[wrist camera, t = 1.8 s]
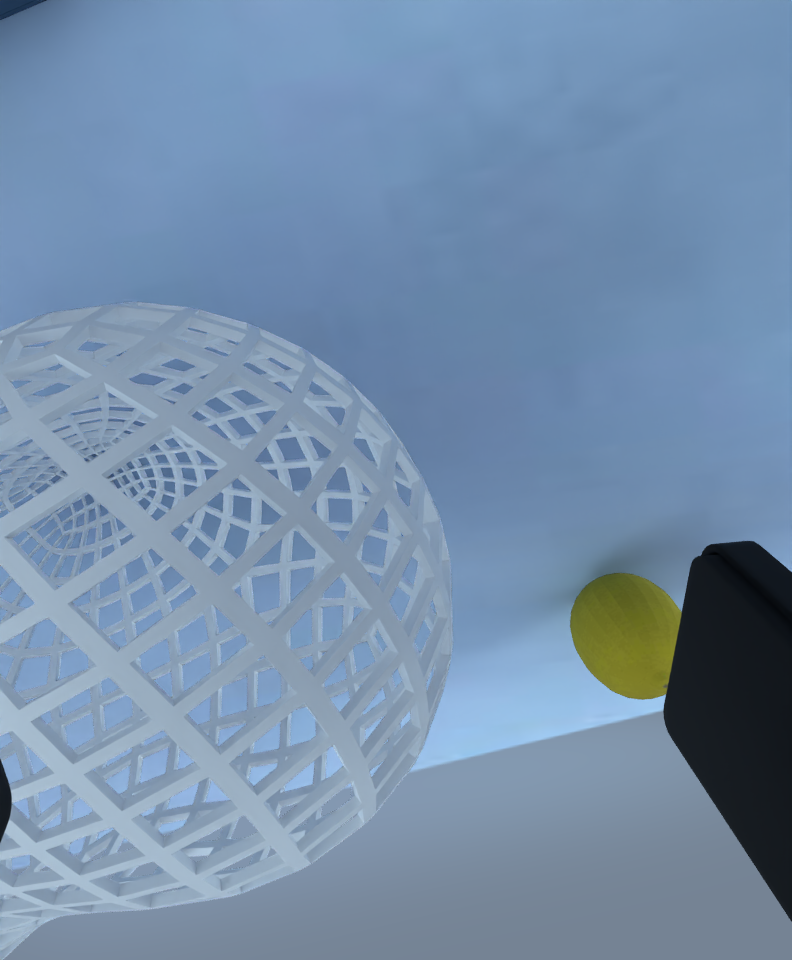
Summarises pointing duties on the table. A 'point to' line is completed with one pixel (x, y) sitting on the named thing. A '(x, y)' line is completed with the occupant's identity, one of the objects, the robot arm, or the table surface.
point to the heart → (200, 609)
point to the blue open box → (15, 6)
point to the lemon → (626, 634)
